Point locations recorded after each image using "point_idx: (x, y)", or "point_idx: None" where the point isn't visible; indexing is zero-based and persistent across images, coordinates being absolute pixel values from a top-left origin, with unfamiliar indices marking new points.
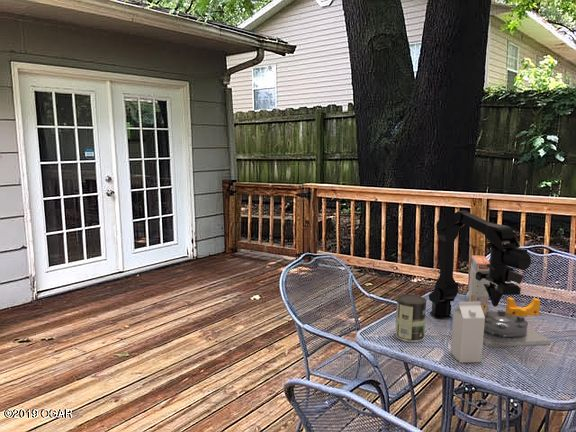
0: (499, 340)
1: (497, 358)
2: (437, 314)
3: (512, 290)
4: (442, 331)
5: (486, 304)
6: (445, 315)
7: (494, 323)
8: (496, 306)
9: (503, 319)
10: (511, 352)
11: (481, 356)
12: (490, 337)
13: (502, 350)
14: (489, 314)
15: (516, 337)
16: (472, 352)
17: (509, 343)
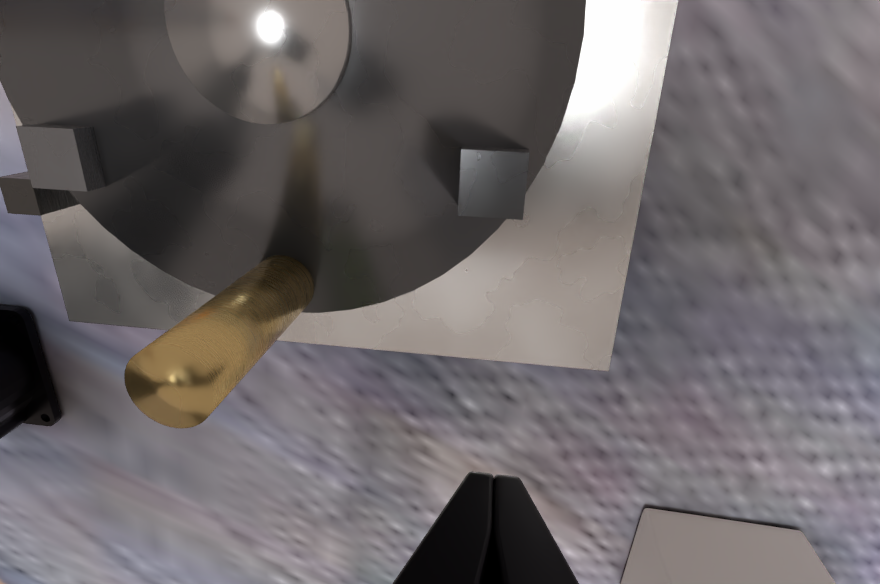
0: (582, 245)
1: (795, 398)
2: (13, 414)
3: None
4: (287, 488)
5: (165, 351)
6: (16, 363)
7: (371, 201)
8: (516, 481)
9: (276, 14)
10: (750, 225)
11: (823, 565)
12: (503, 285)
13: (688, 276)
14: (84, 81)
15: None
16: None
17: (643, 170)
